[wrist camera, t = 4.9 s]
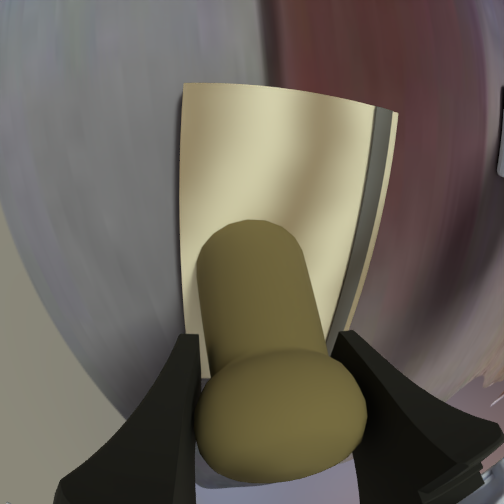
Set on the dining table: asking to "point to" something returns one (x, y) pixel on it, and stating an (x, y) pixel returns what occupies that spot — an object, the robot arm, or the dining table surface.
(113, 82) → the dining table surface
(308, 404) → the cork
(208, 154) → the board
